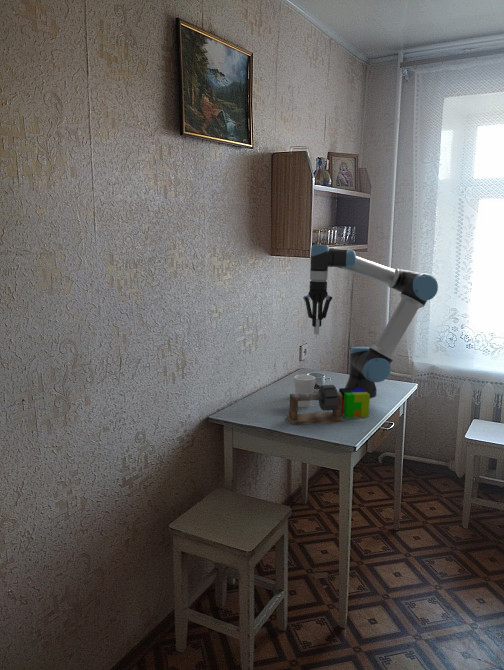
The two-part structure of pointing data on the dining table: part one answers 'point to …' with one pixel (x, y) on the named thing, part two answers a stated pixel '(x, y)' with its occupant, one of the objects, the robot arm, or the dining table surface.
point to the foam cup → (304, 387)
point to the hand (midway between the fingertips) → (316, 333)
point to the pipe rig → (313, 417)
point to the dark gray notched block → (328, 397)
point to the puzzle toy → (355, 402)
